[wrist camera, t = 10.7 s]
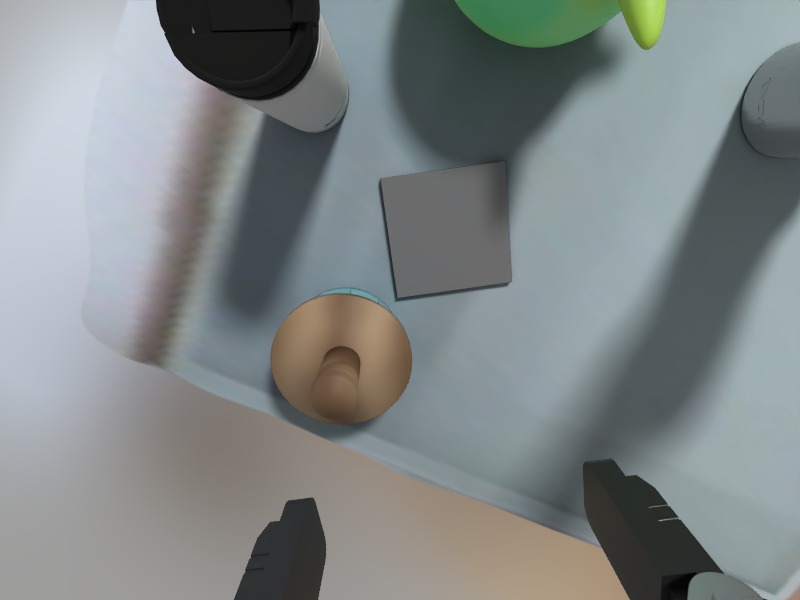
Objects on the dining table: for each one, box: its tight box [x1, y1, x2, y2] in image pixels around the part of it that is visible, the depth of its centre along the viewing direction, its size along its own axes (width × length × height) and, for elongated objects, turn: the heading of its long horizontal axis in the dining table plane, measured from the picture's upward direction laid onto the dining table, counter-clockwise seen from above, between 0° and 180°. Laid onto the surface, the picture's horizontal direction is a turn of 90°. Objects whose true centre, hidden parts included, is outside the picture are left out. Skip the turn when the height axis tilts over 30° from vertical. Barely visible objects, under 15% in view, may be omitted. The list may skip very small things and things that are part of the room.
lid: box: [270, 293, 412, 424], centre depth 33 cm, size 12×12×7 cm
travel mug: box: [156, 0, 349, 133], centre depth 25 cm, size 6×7×20 cm
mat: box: [381, 161, 512, 298], centre depth 38 cm, size 11×11×1 cm
